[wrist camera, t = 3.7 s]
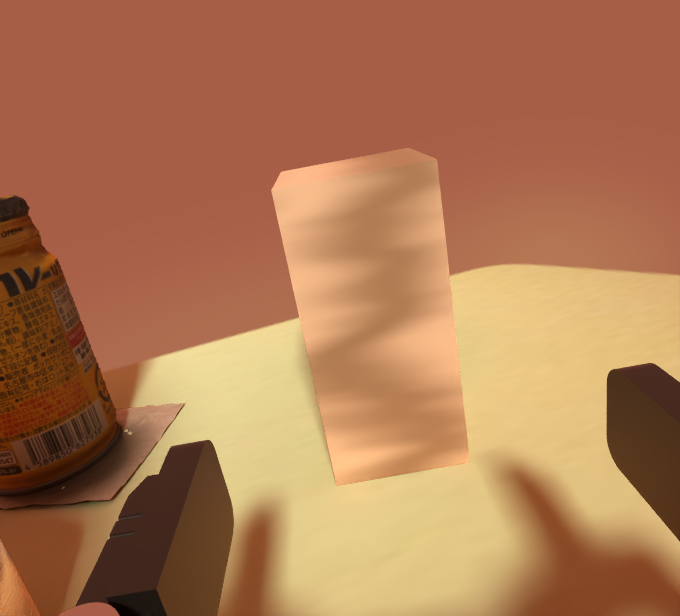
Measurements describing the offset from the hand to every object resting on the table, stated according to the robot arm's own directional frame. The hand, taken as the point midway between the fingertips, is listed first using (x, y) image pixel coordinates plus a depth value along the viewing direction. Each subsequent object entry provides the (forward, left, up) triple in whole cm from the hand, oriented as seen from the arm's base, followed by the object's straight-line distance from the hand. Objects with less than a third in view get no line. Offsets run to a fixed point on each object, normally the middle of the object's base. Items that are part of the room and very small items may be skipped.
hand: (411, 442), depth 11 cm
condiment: (-15, +13, -7) cm, 21 cm away
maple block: (0, +10, -7) cm, 12 cm away
